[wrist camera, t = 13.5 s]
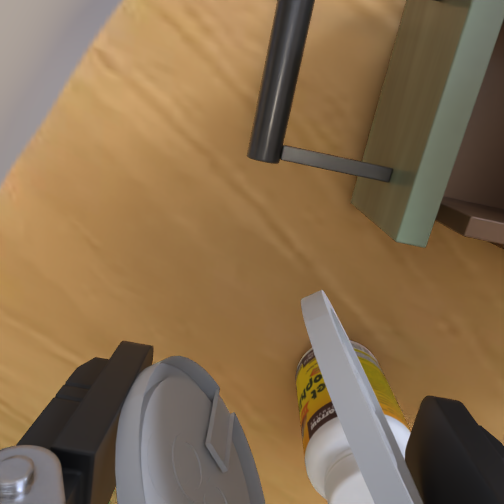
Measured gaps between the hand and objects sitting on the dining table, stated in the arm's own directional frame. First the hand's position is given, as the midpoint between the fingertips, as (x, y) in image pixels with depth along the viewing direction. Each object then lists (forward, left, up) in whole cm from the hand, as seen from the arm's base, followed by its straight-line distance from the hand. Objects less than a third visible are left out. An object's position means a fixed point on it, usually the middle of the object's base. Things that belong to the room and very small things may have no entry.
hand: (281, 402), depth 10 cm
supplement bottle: (-8, -6, -16) cm, 19 cm away
